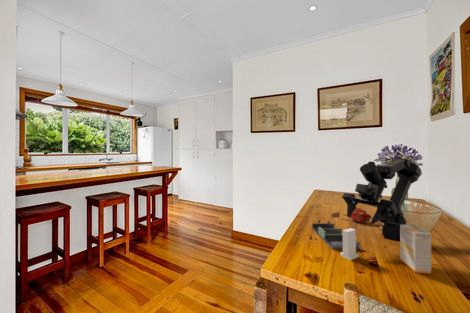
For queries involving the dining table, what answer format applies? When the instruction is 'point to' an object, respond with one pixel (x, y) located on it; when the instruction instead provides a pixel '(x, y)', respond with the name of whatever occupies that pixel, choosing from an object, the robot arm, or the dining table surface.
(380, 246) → the dining table surface
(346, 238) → the white pedestal column
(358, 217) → the dragon fruit
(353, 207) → the robot arm
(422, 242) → the supplement box
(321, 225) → the rack
